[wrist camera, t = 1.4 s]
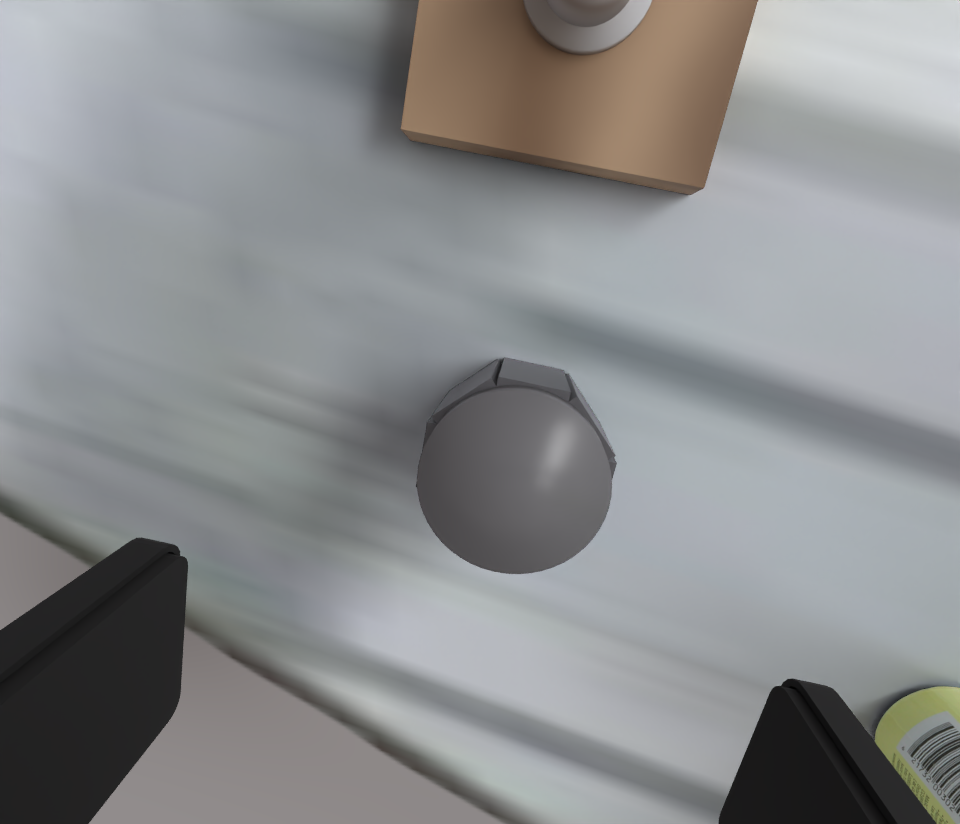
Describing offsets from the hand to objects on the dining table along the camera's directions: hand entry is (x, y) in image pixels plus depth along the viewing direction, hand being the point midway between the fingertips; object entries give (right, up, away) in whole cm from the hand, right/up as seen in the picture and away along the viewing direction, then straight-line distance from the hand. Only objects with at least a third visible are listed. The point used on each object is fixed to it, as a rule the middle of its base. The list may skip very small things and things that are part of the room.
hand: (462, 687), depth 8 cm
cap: (+2, +3, +13) cm, 13 cm away
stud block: (+4, +18, +9) cm, 20 cm away
